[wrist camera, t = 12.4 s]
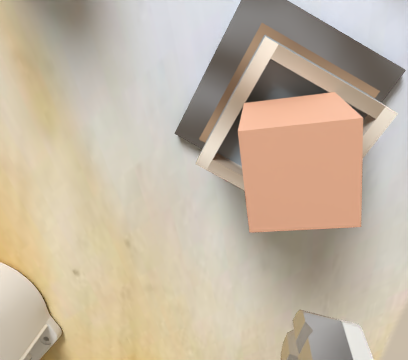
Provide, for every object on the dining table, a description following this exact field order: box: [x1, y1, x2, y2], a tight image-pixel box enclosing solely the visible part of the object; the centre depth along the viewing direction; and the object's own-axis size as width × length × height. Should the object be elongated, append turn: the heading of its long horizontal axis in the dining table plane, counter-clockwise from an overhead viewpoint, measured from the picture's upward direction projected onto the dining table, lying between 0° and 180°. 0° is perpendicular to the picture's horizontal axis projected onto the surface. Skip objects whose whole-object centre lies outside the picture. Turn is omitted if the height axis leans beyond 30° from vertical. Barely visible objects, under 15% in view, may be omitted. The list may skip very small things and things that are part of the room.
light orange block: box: [238, 92, 363, 232], centre depth 18 cm, size 5×5×6 cm
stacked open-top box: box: [175, 0, 406, 191], centre depth 26 cm, size 14×14×12 cm
